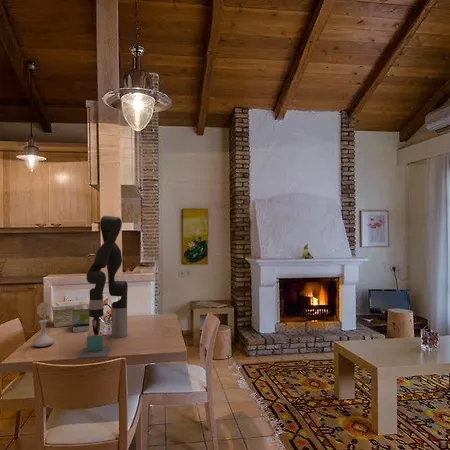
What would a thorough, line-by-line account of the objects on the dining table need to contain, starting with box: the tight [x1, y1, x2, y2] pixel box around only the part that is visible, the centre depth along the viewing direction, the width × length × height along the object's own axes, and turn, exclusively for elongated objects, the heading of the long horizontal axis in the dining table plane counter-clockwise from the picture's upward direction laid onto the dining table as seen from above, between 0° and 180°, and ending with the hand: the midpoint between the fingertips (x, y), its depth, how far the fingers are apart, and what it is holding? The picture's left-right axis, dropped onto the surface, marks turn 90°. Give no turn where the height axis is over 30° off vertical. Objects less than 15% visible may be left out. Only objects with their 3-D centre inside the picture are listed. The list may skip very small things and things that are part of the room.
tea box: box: [72, 305, 90, 333], centre depth 268 cm, size 15×10×15 cm, turn 22°
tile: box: [86, 334, 104, 351], centre depth 220 cm, size 2×8×8 cm, turn 100°
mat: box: [77, 345, 111, 360], centre depth 218 cm, size 18×14×1 cm
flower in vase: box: [31, 301, 55, 348], centre depth 231 cm, size 13×11×25 cm
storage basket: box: [50, 299, 89, 328], centre depth 284 cm, size 24×16×15 cm
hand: (96, 339), depth 225 cm, fingers closed
